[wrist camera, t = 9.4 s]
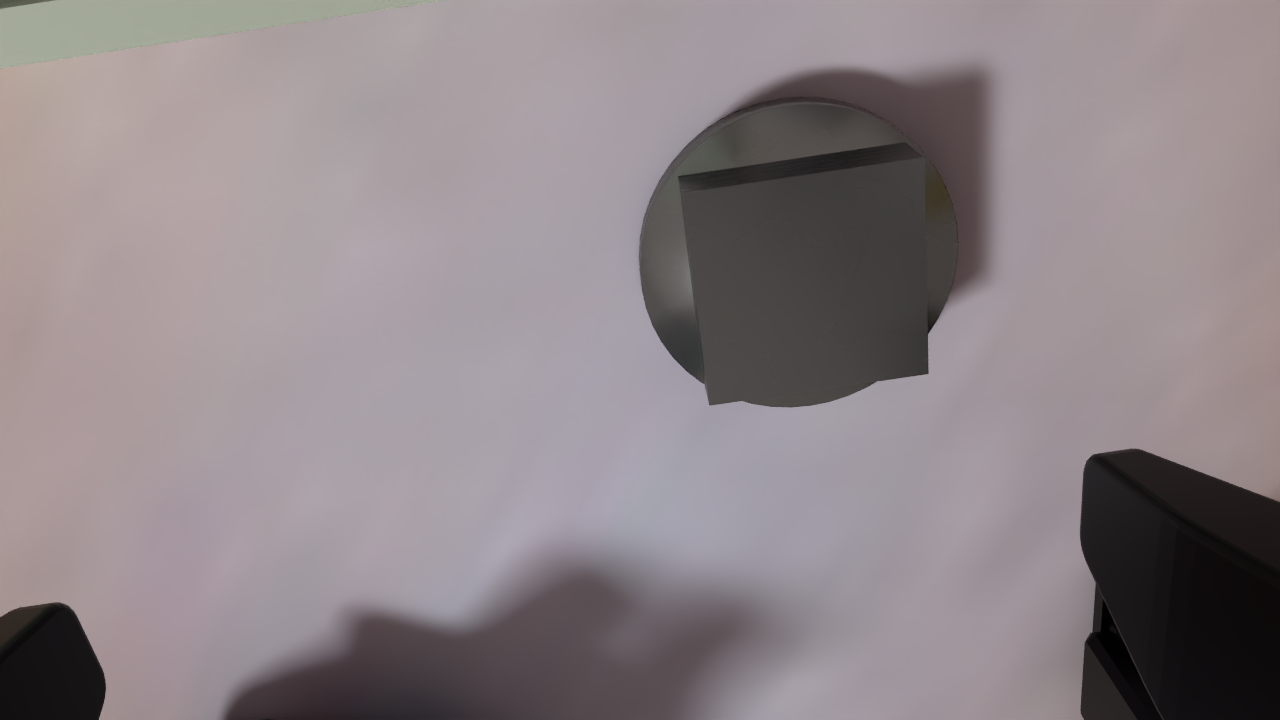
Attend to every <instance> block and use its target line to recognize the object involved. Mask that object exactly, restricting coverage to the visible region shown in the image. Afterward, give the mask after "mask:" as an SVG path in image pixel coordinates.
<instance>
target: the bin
mask: <svg viewBox="0 0 1280 720" xmlns="http://www.w3.org/2000/svg"><path fill="white" fill-rule="evenodd" d="M437 1H443V0H0V68H6V67H13V66H19V65H26V64H33V63H39V62H46V61H52V60H59V59H65V58H72V57H78V56H85V55H91V54H98V53H104V52H111V51H117V50H124V49H130V48H137V47H143V46H150V45H156V44H163V43H169V42H176V41H182V40H189V39H196V38H202V37H209V36H215V35H222V34H228V33H235V32H241V31H248V30H254V29H261V28H267V27H274V26H280V25H287V24H293V23H300V22H306V21H313V20H319V19H326V18H332V17H339V16H346V15H352V14H359V13H365V12H372V11H378V10H385V9H391V8H398V7H404V6H411V5H417V4H424V3H430V2H437Z"/></svg>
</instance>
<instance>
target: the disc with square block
mask: <svg viewBox="0 0 1280 720" xmlns="http://www.w3.org/2000/svg"><path fill="white" fill-rule="evenodd" d="M957 254H958V234H957V222H956V218H955V213H954V209H953V204H952V201H951V199H950V196H949V194H948V191H947V188H946V186H945V184H944V182H943V180H942V178H941V177H940V175H939V173H938V171H937V170H936V168H935V167H934V165H933V164H932V163H931V161H930V160H929V159H928V158H927V156H926V155H925V154H924V152H923V151H922V150H920V149H919V148H918V147H917V146H916V145H915V144H914V143H913V142H912V141H911V140H910V139H909V138H908V137H906V136H905V135H904V134H903V133H901V132H900V131H899V130H898V129H896V128H895V127H893V126H892V125H891V124H889V123H888V122H886V121H885V120H884V119H882V118H881V117H879V116H877V115H875V114H873V113H871V112H869V111H867V110H865V109H863V108H860V107H857V106H854V105H851V104H848V103H845V102H841V101H836V100H830V99H825V98H812V97H795V98H783V99H777V100H772V101H768V102H763V103H759V104H756V105H753V106H750V107H748V108H745V109H742V110H739V111H737V112H735V113H733V114H731V115H729V116H727V117H725V118H723V119H721V120H719V121H718V122H716V123H715V124H713V125H712V126H711V127H709V128H708V129H706V130H705V131H703V132H702V133H700V134H699V135H698V136H697V137H696V138H695V139H694V140H693V141H691V142H690V143H689V144H688V145H687V146H686V147H685V148H684V149H683V150H682V151H681V152H680V154H679V155H678V156H677V157H676V158H675V159H674V160H673V162H672V163H671V164H670V166H669V167H668V169H667V170H666V171H665V173H664V174H663V176H662V177H661V179H660V180H659V182H658V184H657V186H656V188H655V191H654V193H653V195H652V197H651V199H650V201H649V204H648V207H647V210H646V213H645V216H644V220H643V225H642V230H641V235H640V246H639V265H640V277H641V285H642V291H643V296H644V300H645V305H646V309H647V312H648V314H649V317H650V320H651V322H652V325H653V327H654V329H655V331H656V333H657V334H658V336H659V338H660V340H661V342H662V343H663V345H664V346H665V347H666V349H667V350H668V351H669V353H670V354H671V355H672V357H673V358H674V359H675V360H676V361H677V362H678V363H679V364H680V365H681V366H682V367H683V368H684V369H685V370H686V371H687V372H688V373H690V374H691V375H692V376H694V377H695V378H696V379H697V380H699V381H700V382H702V383H703V384H705V388H706V393H707V397H708V401H709V405H716V404H723V403H730V402H737V401H744V402H748V403H751V404H757V405H764V406H770V407H800V406H811V405H816V404H821V403H826V402H830V401H833V400H836V399H839V398H843V397H846V396H849V395H851V394H853V393H855V392H857V391H860V390H862V389H864V388H866V387H868V386H870V385H871V384H873V383H875V382H876V381H883V380H889V379H896V378H903V377H910V376H917V375H924V374H928V333H929V332H930V330H931V329H932V327H933V326H934V324H935V323H936V321H937V320H938V318H939V316H940V314H941V312H942V309H943V307H944V305H945V303H946V301H947V298H948V296H949V293H950V290H951V287H952V284H953V280H954V275H955V270H956V265H957Z"/></svg>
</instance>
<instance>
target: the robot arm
mask: <svg viewBox="0 0 1280 720" xmlns="http://www.w3.org/2000/svg"><path fill="white" fill-rule="evenodd" d="M1080 540H1081V547H1082V551H1083V554H1084V558H1085V560H1086V563H1087V565H1088V567H1089V569H1090V571H1091V573H1092V575H1093V578H1094V580H1095V582H1096V588H1095V603H1094V617H1093V632H1092V633H1090V635H1089V636H1088V638H1087V640H1086V641H1085V649H1084V664H1083V680H1082V696H1081V714H1082V716H1083V718H1084V720H1280V502H1278V501H1275V500H1273V499H1270V498H1267V497H1265V496H1262V495H1260V494H1257V493H1254V492H1252V491H1249V490H1246V489H1244V488H1241V487H1238V486H1236V485H1233V484H1230V483H1228V482H1225V481H1222V480H1220V479H1217V478H1215V477H1212V476H1209V475H1207V474H1204V473H1201V472H1199V471H1196V470H1193V469H1191V468H1188V467H1185V466H1183V465H1180V464H1178V463H1175V462H1172V461H1170V460H1167V459H1164V458H1162V457H1159V456H1156V455H1154V454H1151V453H1148V452H1146V451H1143V450H1140V449H1126V450H1119V451H1112V452H1106V453H1099V454H1094V455H1092V456H1091V457H1090V458H1089V459H1088V460H1087V462H1086V464H1085V467H1084V473H1083V489H1082V506H1081V524H1080ZM105 692H106V683H105V677H104V673H103V670H102V667H101V665H100V663H99V661H98V659H97V657H96V655H95V653H94V651H93V649H92V646H91V644H90V642H89V640H88V638H87V636H86V634H85V632H84V630H83V628H82V626H81V624H80V622H79V619H78V617H77V616H76V614H75V612H74V611H73V610H72V609H71V608H70V607H69V606H67V605H65V604H62V603H58V602H56V603H48V604H41V605H34V606H27V607H20V608H17V609H14V610H12V611H10V612H8V613H7V614H5V615H3V616H2V617H0V720H99V717H100V714H101V710H102V707H103V704H104V699H105Z"/></svg>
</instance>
